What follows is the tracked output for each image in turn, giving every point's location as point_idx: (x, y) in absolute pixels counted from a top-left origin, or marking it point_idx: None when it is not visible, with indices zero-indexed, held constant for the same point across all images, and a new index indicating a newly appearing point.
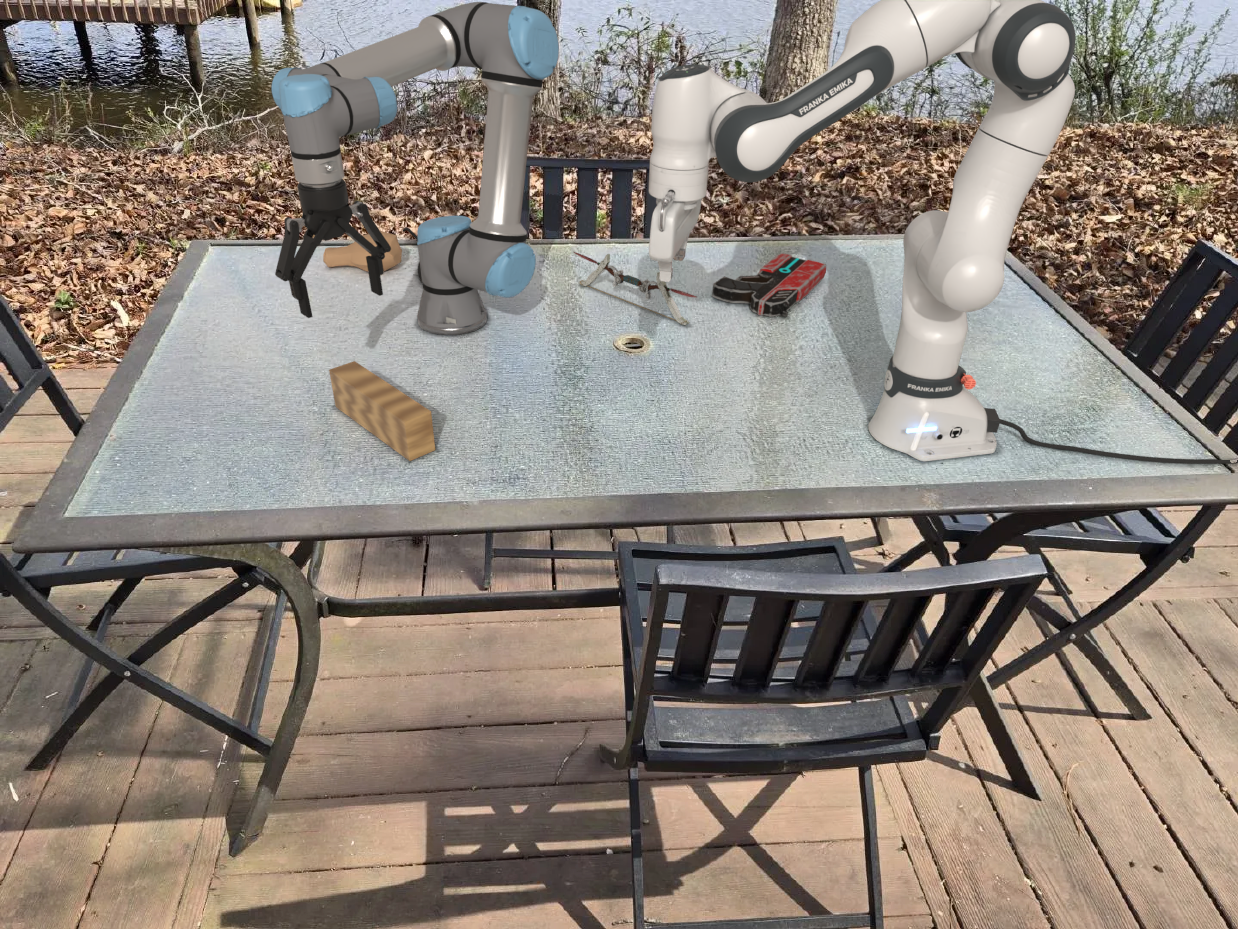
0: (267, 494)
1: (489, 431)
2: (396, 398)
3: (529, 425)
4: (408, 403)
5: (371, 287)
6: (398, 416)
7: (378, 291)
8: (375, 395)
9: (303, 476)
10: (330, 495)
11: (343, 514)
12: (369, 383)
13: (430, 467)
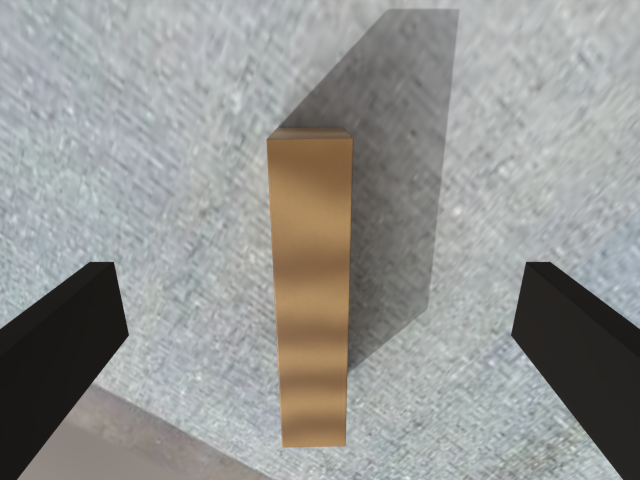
0: None
1: (443, 388)
2: (321, 372)
3: (502, 411)
4: (328, 401)
5: (537, 281)
6: (283, 427)
7: (522, 348)
8: (292, 335)
9: None
10: (141, 382)
11: (140, 427)
12: (312, 279)
13: None
